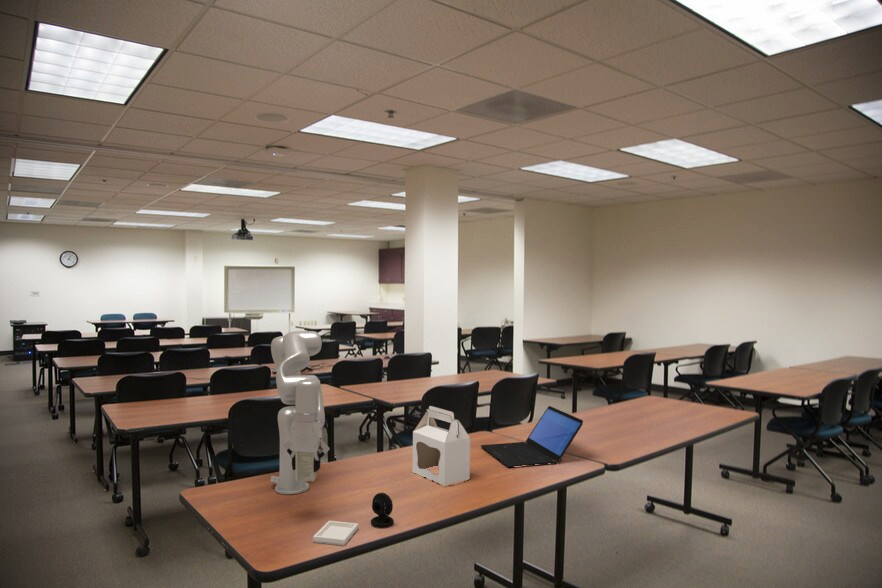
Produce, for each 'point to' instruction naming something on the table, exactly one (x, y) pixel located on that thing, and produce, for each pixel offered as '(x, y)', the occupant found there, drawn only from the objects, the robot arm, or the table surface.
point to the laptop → (540, 441)
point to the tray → (335, 533)
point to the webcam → (382, 510)
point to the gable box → (441, 448)
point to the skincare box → (304, 466)
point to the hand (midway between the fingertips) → (305, 469)
